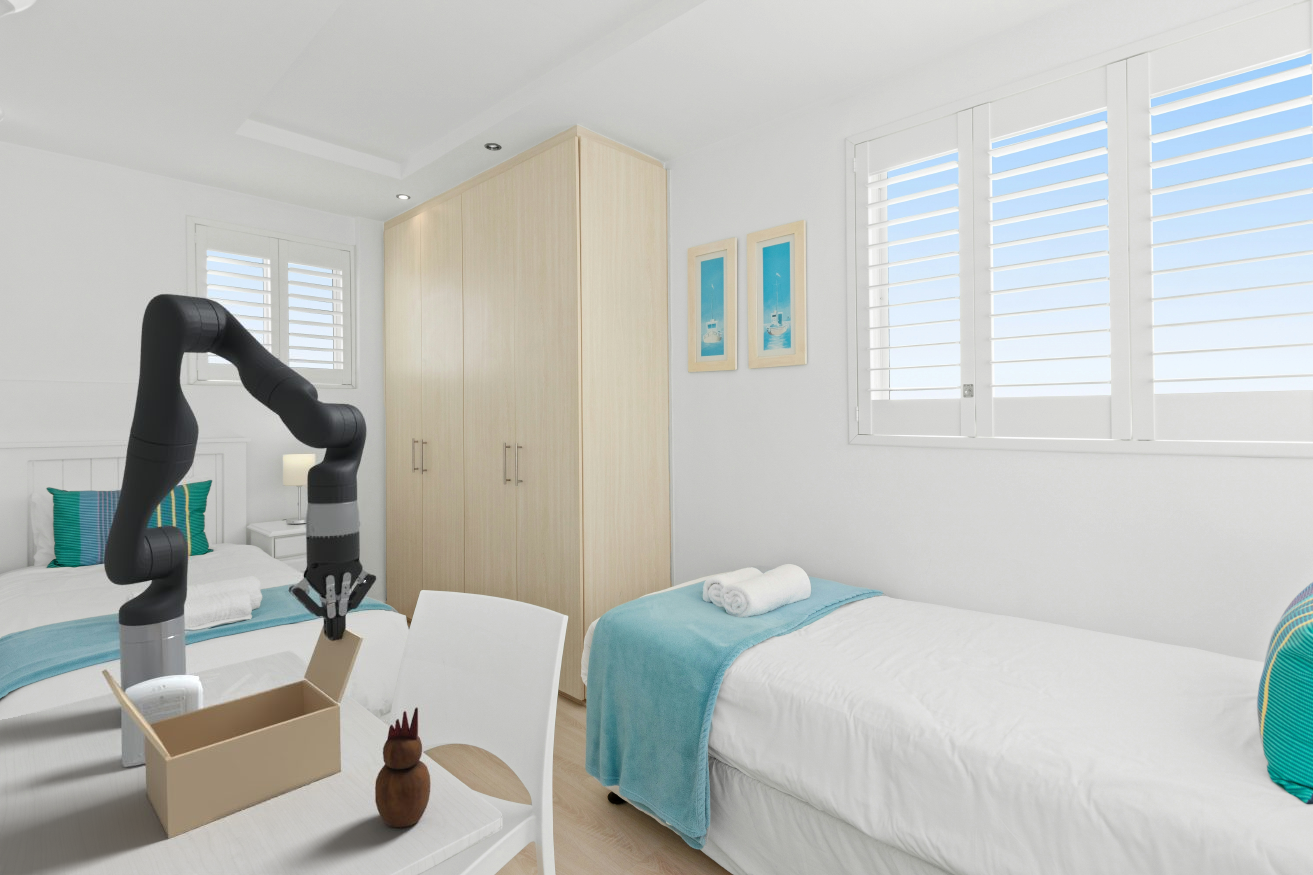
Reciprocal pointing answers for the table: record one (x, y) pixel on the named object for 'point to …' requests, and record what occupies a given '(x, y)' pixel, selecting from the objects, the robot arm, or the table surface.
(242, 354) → the robot arm
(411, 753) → the wooden figurine
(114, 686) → the near flap
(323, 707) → the carton
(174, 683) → the photo printer
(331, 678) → the far flap
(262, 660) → the table surface
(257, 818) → the table surface
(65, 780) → the table surface
